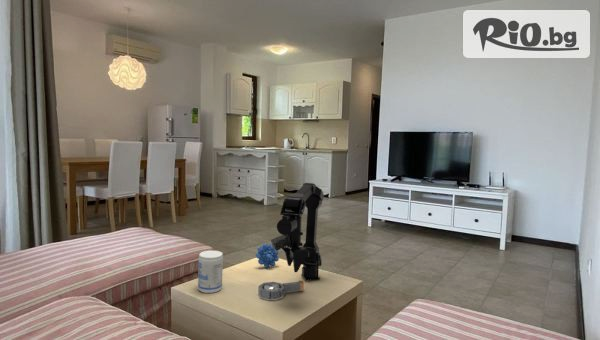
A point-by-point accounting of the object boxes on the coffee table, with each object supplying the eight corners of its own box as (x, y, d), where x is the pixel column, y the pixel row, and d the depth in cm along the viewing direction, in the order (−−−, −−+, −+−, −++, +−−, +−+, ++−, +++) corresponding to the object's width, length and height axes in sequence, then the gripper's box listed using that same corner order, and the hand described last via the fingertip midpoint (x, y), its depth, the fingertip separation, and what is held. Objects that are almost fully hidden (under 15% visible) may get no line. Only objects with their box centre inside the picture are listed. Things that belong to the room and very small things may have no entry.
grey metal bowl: (279, 288, 154) (279, 280, 154) (287, 298, 145) (287, 289, 144) (256, 291, 150) (256, 283, 150) (262, 302, 141) (262, 292, 141)
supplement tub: (193, 290, 149) (193, 254, 148) (208, 282, 158) (208, 248, 157) (212, 295, 146) (213, 258, 144) (227, 287, 154) (227, 252, 153)
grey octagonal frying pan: (298, 284, 157) (298, 277, 156) (307, 294, 148) (307, 286, 147) (256, 289, 150) (256, 282, 150) (262, 299, 141) (262, 291, 141)
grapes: (258, 272, 172) (258, 246, 172) (253, 267, 179) (254, 242, 178) (281, 269, 177) (282, 244, 176) (276, 264, 183) (277, 240, 182)
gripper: (266, 224, 148) (265, 263, 149) (280, 236, 131) (279, 279, 132) (293, 223, 152) (292, 260, 153) (310, 234, 134) (309, 276, 136)
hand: (292, 268), depth 143 cm, fingers open, 7 cm apart
